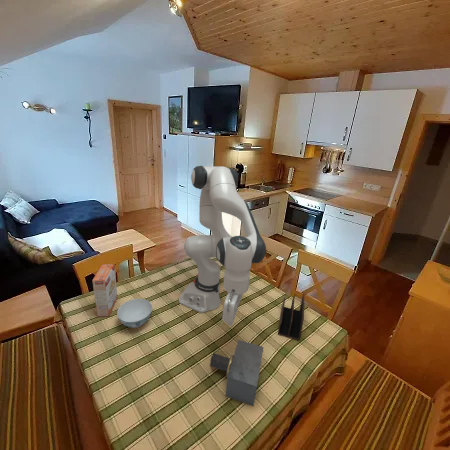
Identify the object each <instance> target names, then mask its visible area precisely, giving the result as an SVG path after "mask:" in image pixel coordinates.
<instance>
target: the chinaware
mask: <svg viewBox="0 0 450 450" xmlns="http://www.w3.org/2000/svg"><path fill="white" fill-rule="evenodd" d="M152 312H153V304H152V302H150V301H149V300H148V299H144V298H133V299H130V300H127V301H125V302H123V303H122V304H121V305H120V306H119V308H118V309H117V311H116V315H117V317H118V320H119V322H120V323H121V324H122V325H124V326H125V327H128V328H132V329H137V328H140V327H142V326H143V325H144V324H145V323H147V322H148V320H149V319H150V317H151V314H152Z"/></svg>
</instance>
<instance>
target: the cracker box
mask: <svg viewBox="0 0 450 450" xmlns="http://www.w3.org/2000/svg"><path fill="white" fill-rule="evenodd" d="M116 280H117V278H116V269H115V264H112V263H110V264H109V263H108V264H106V263H105V264H102V265H101V266H100V268H99V269H98V270H97V272H96V274H95V275H94V277H93V279H92V281H91V282H92V288H93V295H94V301H95V308H96V315H97V316H96V317H97V318H99V317H110V316H111V313H112V311H113V309H114V307H115V304H116V302H117V300H118V290H117V281H116Z"/></svg>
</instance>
